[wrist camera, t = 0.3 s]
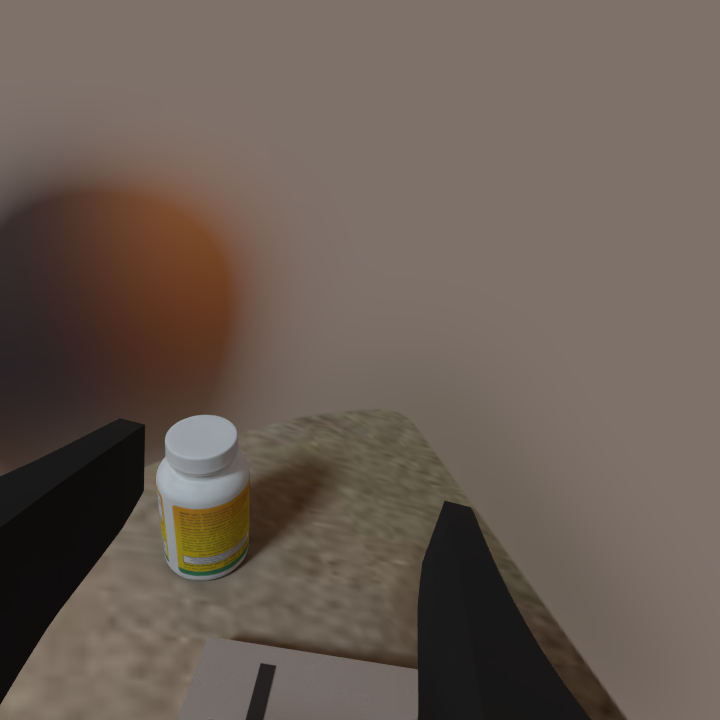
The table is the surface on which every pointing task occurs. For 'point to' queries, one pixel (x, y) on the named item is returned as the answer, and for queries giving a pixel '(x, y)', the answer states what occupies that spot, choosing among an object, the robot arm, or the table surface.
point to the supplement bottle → (204, 498)
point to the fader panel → (295, 686)
